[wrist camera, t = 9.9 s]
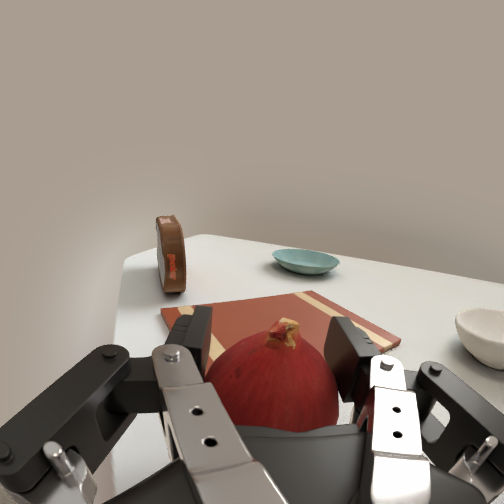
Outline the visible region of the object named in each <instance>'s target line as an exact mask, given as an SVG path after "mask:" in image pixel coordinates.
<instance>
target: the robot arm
mask: <svg viewBox="0 0 504 504" xmlns="http://www.w3.org/2000/svg"><path fill="white" fill-rule="evenodd" d="M212 312H213V307H210V306H201V305H196V307H195V309H194V312H193V315H187V314H183V315H181V316H180V317H178V318H177V319H176V321H175V323H174V326H173V327H172V329H171V331H170V333H169V336H168V338H167V340H166V342H165V344H164V345H161V346H158V347H156V348H155V349H154V350H153V351H152V356H150V357H143V358H130V356H129V352H128V351H127V349H125V348H124V347H122V346H119V345H112V344H111V345H103V346H100V347H98V348H96V349H94V350H93V351H92V352H91V353H90V354H88V355H87V356H86V357H85V358H83V359H82V360H81V361H80V362H78V363H77V364H76V365H75V366H74V367H72V368H71V369H70V370H69V371H68V372H66V373H65V374H64V375H63V376H61V377H60V378H59V379H58V380H57V381H55V382H54V383H53V384H52V385H50V386H49V387H48V388H47V389H46V390H44V391H43V392H42V393H41V394H40V395H39V396H38V397H36V398H35V399H34V400H32V401H31V402H30V403H29V404H28V405H27V406H25V407H24V408H23V409H22V410H21V411H20V412H18V413H17V414H16V415H15V416H14V417H12V418H11V419H10V420H9V421H8V422H7V423H6V424H4V425H3V426H2V427H1V428H0V484H1V486H2V487H3V488H4V489H5V490H6V491H7V492H8V493H9V494H10V495H11V497H12V498H13V499H14V500H15V501H16V502H17V503H18V504H93V500H94V497H95V495H96V492H97V484H96V481H95V480H94V477H93V476H92V475H93V474H94V472H95V471H96V470H97V468H98V467H99V465H100V464H101V463H102V462H103V460H104V459H105V457H106V456H107V455H108V454H109V452H110V451H111V450H112V448H113V447H114V445H115V444H116V443H117V441H118V440H119V439H120V437H121V436H122V435H123V433H124V432H125V431H126V429H127V428H128V427H129V425H130V424H131V423H132V421H133V420H134V419H135V417H136V416H137V413H158V415H159V419H160V423H161V427H162V431H163V434H164V438H165V441H166V445H167V449H168V454H169V458H170V462H171V463H169V464H168V465H166V466H165V467H163V468H162V469H160V470H159V471H157V472H156V473H154V474H153V475H151V476H149V477H148V478H146V479H145V480H143V481H141V482H140V483H138V484H136V485H135V486H133V487H131V488H130V489H128V490H126V491H124V492H123V493H121V494H119V495H117V496H115V497H114V498H112V499H110V500H108V501H106V502H104V503H102V504H490V503H491V502H493V501H494V500H495V499H496V498H497V497H498V496H499V495H500V494H501V493H502V492H503V491H504V415H503V414H502V413H501V412H500V411H499V410H497V409H496V408H495V407H494V406H493V405H491V404H490V403H489V402H488V401H487V400H485V399H484V398H483V397H482V396H481V395H479V394H478V393H477V392H476V391H474V390H473V389H472V388H471V387H469V386H468V385H467V384H466V383H465V382H463V381H462V380H461V379H460V378H458V377H457V376H456V375H455V374H453V373H452V372H451V371H450V370H448V369H447V368H446V367H444V366H443V365H441V364H439V363H436V362H431V361H428V362H424V363H422V364H421V366H420V369H419V371H418V372H416V371H408V370H404V369H403V365H402V363H401V362H400V361H399V360H397V359H395V358H393V357H391V356H387V355H382V354H381V352H380V351H379V350H378V348H377V347H376V346H375V344H373V342H372V340H371V339H370V338H369V336H368V335H367V334H366V332H365V331H363V330H362V329H360V328H359V327H355V325H354V324H353V322H352V321H351V320H350V318H349V317H342V316H333V317H332V318H331V320H330V324H329V328H328V332H327V336H326V340H325V344H324V358H325V360H326V363H327V364H328V366H329V367H330V369H331V371H332V373H333V374H334V376H335V379H336V382H337V386H338V391H339V394H340V396H341V398H342V401H343V403H346V402H354V406H353V408H352V411H351V416H350V423H349V424H344V425H330V426H325V427H321V428H317V429H313V430H309V431H305V432H299V433H298V432H291V431H285V430H280V429H275V428H270V427H265V426H244V425H234V424H233V422H232V421H231V419H230V417H229V415H228V413H227V411H226V410H225V408H224V406H223V404H222V402H221V400H220V398H219V396H218V394H217V392H216V390H215V388H214V386H213V385H212V383H211V382H204V377H205V372H206V367H207V362H208V356H209V351H210V344H211V329H212ZM436 401H438V402H439V403H440V404H441V405H442V406H444V407H445V408H446V409H447V410H448V412H449V414H450V421H449V423H448V424H447V426H446V428H445V427H444V426H443V425H442V424H441V423H440V422H439V421H438V420H437V419H436V418H435V417H434V416H433V415H432V414H431V413H430V412H431V410H432V409H433V407H434V405H435V403H436ZM422 450H423V452H424V453H425V454H426V455H427V456H428V457H429V459H430V460H431V461H432V462H433V463H434V464H435V466H434V465H432V464H431V463H429V460H428V459H427V458H426V457H424V456H423V453H422Z"/></svg>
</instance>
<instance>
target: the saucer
mask: <svg viewBox="0 0 504 504" xmlns="http://www.w3.org/2000/svg"><path fill="white" fill-rule="evenodd" d="M272 255H273V256H274V258H275V259H276V260H277V261H278V262H279V263H280V264H281V265H282V266H283V267H285V268H286V269H288V270H290V271H293V272H296V273H300V274H308V275H316V274H322V273H325V272H327V271H330V270H331V269H333V268H334V267H336V266H337V265H338V264H339V263H340V261H339V260H338V259H337V258H335V257H333V256H330V255H328V254H324V253H320V252H315V251H309V250H301V249H282V250H276V251H274V252H273V253H272Z"/></svg>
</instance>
